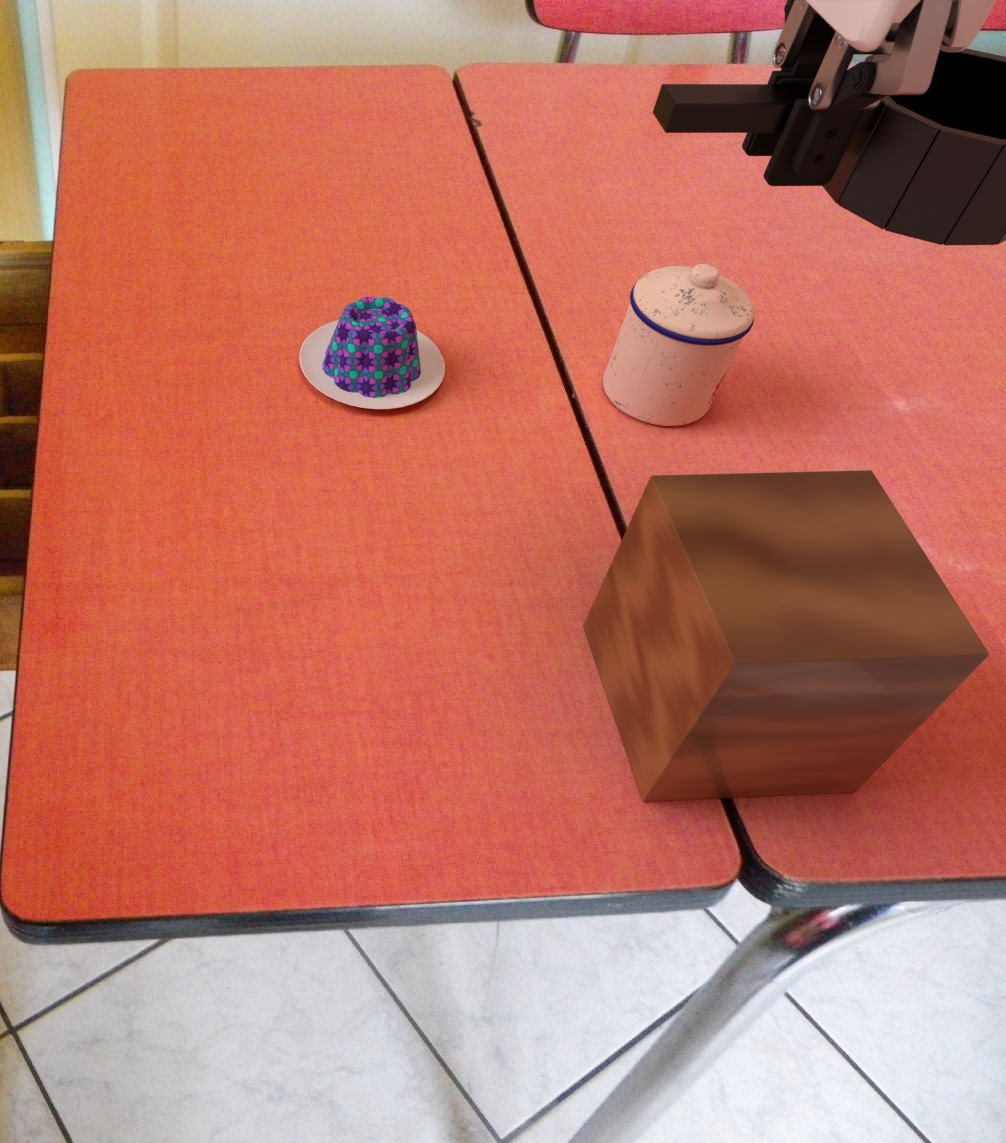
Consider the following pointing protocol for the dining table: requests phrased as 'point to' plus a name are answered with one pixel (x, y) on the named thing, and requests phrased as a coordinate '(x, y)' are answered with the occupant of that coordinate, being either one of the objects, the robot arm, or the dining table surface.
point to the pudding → (373, 357)
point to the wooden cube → (772, 634)
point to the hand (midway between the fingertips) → (784, 165)
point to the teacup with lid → (676, 344)
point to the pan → (890, 146)
